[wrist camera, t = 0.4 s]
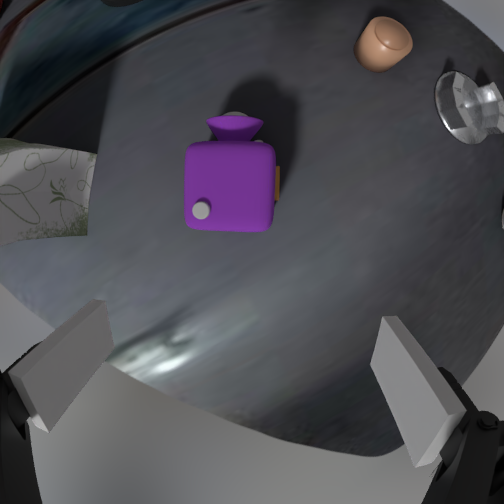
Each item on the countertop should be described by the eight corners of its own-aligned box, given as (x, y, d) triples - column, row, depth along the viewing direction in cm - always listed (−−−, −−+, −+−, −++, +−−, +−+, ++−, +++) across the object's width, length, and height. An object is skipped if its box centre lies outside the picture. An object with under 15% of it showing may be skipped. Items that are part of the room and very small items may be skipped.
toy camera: (269, 114, 35) (269, 94, 25) (285, 217, 38) (291, 231, 28) (188, 129, 36) (162, 116, 26) (205, 229, 39) (184, 247, 29)
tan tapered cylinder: (349, 35, 31) (364, 11, 23) (387, 39, 30) (407, 18, 23) (358, 71, 32) (375, 51, 25) (396, 74, 32) (419, 57, 24)
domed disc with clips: (427, 66, 31) (443, 57, 26) (481, 79, 30) (498, 73, 25) (440, 141, 34) (459, 139, 29) (492, 147, 33) (511, 146, 28)
